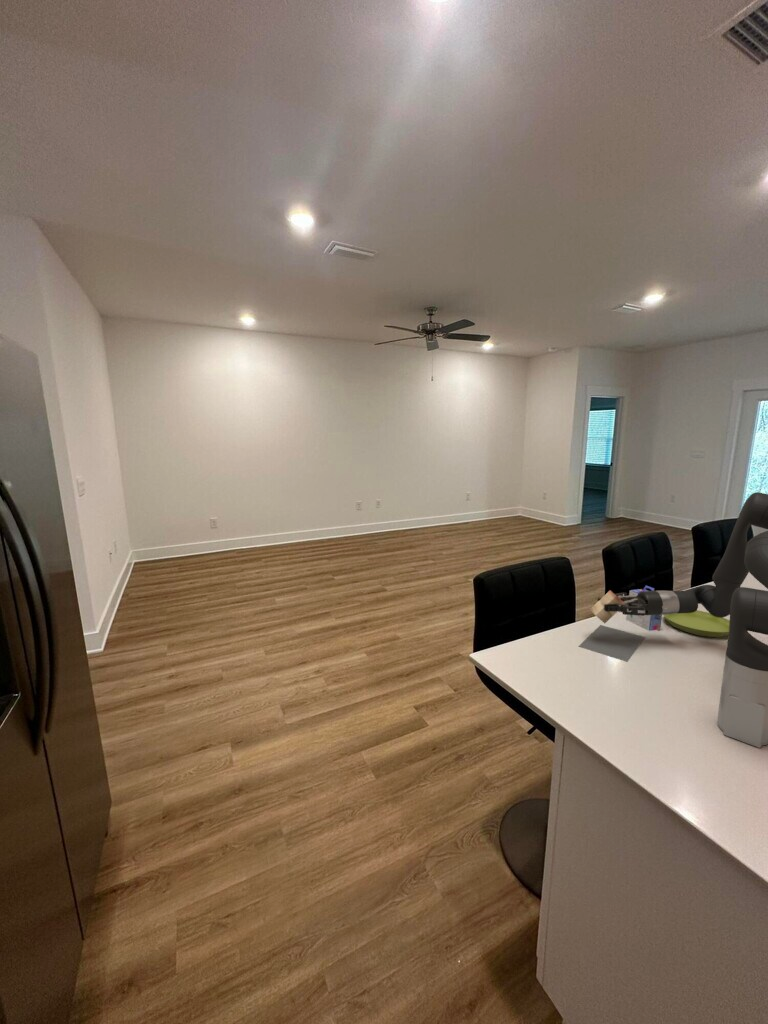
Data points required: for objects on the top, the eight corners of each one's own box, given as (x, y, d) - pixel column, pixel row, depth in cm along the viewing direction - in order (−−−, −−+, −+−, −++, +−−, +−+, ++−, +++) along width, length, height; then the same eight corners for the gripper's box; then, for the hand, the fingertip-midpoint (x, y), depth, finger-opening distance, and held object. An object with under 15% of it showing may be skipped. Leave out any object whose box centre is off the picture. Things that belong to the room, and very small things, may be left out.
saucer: (751, 640, 136) (752, 631, 136) (689, 641, 136) (690, 632, 135) (703, 615, 156) (704, 607, 156) (649, 616, 156) (650, 608, 156)
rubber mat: (627, 663, 122) (627, 661, 122) (578, 648, 132) (578, 646, 132) (645, 638, 138) (645, 637, 137) (600, 626, 147) (600, 624, 147)
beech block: (598, 617, 136) (619, 598, 134) (604, 623, 131) (626, 603, 129) (589, 609, 136) (609, 590, 134) (595, 615, 131) (616, 595, 129)
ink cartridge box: (661, 630, 143) (665, 591, 141) (649, 632, 142) (653, 592, 140) (637, 619, 153) (641, 582, 151) (625, 621, 151) (628, 583, 149)
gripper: (646, 583, 137) (592, 586, 139) (670, 599, 123) (610, 601, 125) (646, 605, 138) (593, 607, 140) (670, 623, 124) (610, 625, 126)
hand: (601, 604), depth 133 cm, fingers closed on beech block, 5 cm apart
